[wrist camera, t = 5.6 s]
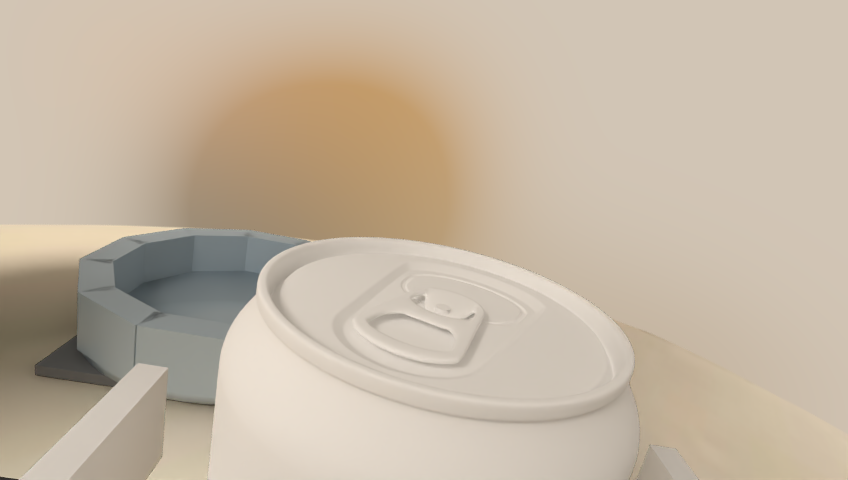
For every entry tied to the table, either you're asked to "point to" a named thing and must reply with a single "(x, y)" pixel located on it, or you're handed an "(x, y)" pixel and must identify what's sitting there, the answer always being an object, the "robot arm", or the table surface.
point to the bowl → (170, 302)
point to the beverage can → (420, 372)
